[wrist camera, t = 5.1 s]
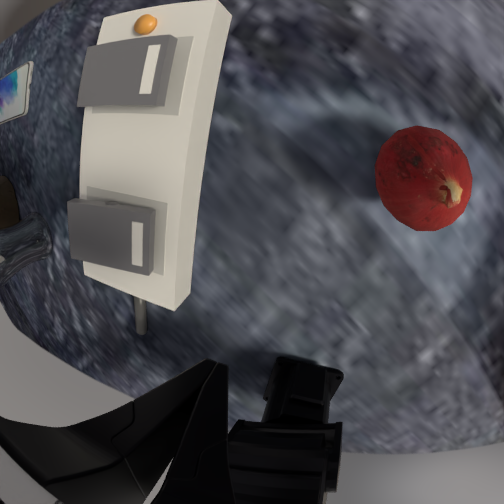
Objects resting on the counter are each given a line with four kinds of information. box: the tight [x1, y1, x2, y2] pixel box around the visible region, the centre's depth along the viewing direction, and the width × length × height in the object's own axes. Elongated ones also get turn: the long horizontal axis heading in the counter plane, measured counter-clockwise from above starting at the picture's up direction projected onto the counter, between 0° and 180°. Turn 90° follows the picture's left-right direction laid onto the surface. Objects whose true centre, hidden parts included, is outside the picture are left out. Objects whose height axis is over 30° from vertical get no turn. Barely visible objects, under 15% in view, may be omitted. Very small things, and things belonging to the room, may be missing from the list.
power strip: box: [80, 0, 232, 335], centre depth 20 cm, size 30×10×4 cm, turn 170°
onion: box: [375, 126, 472, 231], centre depth 13 cm, size 6×6×8 cm
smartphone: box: [0, 61, 33, 124], centre depth 23 cm, size 7×1×15 cm
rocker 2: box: [67, 198, 156, 276], centre depth 19 cm, size 5×7×2 cm, turn 80°
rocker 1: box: [77, 34, 178, 107], centre depth 14 cm, size 5×7×2 cm, turn 80°
